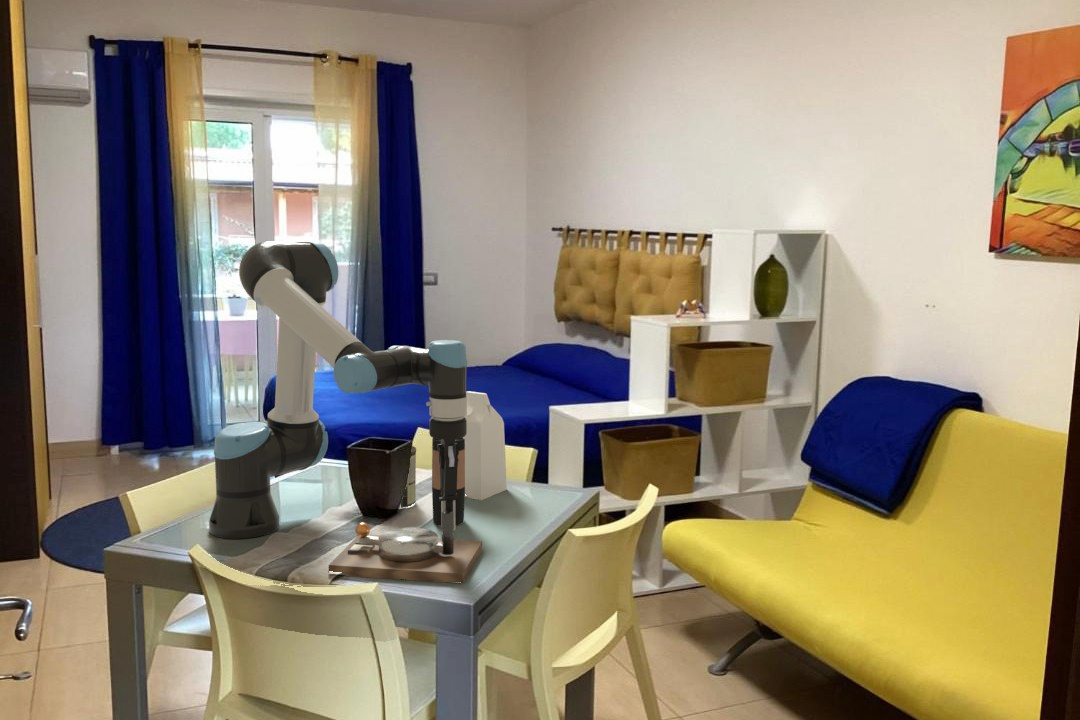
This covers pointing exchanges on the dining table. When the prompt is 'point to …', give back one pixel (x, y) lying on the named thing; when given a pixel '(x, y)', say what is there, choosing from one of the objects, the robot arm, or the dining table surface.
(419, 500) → the dining table surface
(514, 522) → the dining table surface
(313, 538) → the dining table surface
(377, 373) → the robot arm
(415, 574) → the stand
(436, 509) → the travel mug
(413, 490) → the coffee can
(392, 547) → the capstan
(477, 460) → the milk
